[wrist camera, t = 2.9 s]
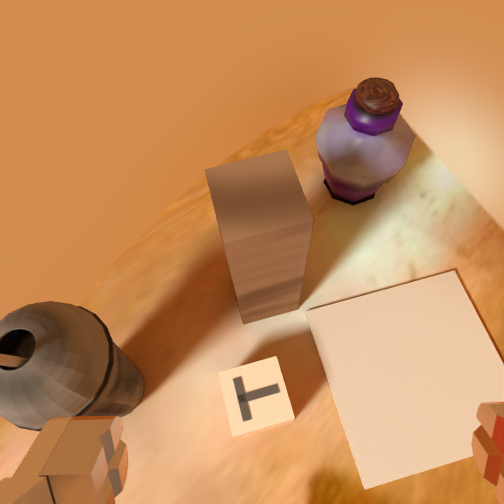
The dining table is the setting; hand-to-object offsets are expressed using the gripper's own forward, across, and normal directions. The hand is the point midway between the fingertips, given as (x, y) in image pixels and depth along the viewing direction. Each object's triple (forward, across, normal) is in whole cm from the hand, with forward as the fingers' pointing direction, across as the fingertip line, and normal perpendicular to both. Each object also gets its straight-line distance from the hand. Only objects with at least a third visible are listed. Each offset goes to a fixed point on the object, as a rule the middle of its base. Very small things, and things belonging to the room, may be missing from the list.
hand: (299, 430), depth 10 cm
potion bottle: (+35, -9, +2) cm, 36 cm away
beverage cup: (+21, +13, +16) cm, 29 cm away
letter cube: (+20, +1, +16) cm, 26 cm away
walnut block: (+27, 0, +10) cm, 28 cm away
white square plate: (+21, -12, +14) cm, 28 cm away
